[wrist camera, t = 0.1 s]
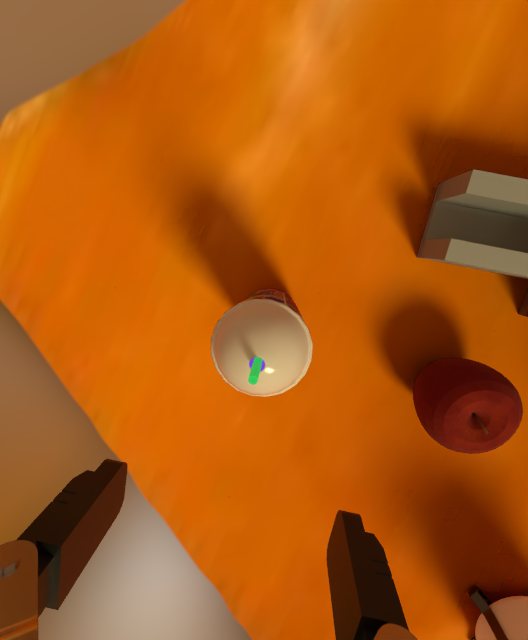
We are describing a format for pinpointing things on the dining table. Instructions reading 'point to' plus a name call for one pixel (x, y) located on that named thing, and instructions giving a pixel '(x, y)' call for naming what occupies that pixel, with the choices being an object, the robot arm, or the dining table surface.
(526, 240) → the holder
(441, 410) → the apple
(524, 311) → the box
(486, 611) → the coffee press
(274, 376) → the smoothie
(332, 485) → the dining table surface
